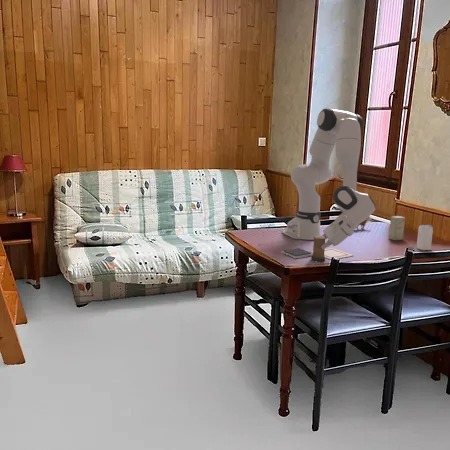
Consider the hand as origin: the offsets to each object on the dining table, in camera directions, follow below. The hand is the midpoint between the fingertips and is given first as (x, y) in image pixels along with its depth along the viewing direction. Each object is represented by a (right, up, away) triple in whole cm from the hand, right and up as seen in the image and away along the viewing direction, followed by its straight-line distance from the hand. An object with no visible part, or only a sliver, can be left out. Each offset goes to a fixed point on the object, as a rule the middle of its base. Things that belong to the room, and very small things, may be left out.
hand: (320, 245), depth 209 cm
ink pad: (-9, -5, +9) cm, 14 cm away
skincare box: (+49, +1, +42) cm, 65 cm away
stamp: (-1, -7, +2) cm, 7 cm away
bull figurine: (+36, +6, +63) cm, 73 cm away
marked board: (+8, -5, +11) cm, 14 cm away
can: (+56, -3, +24) cm, 61 cm away
